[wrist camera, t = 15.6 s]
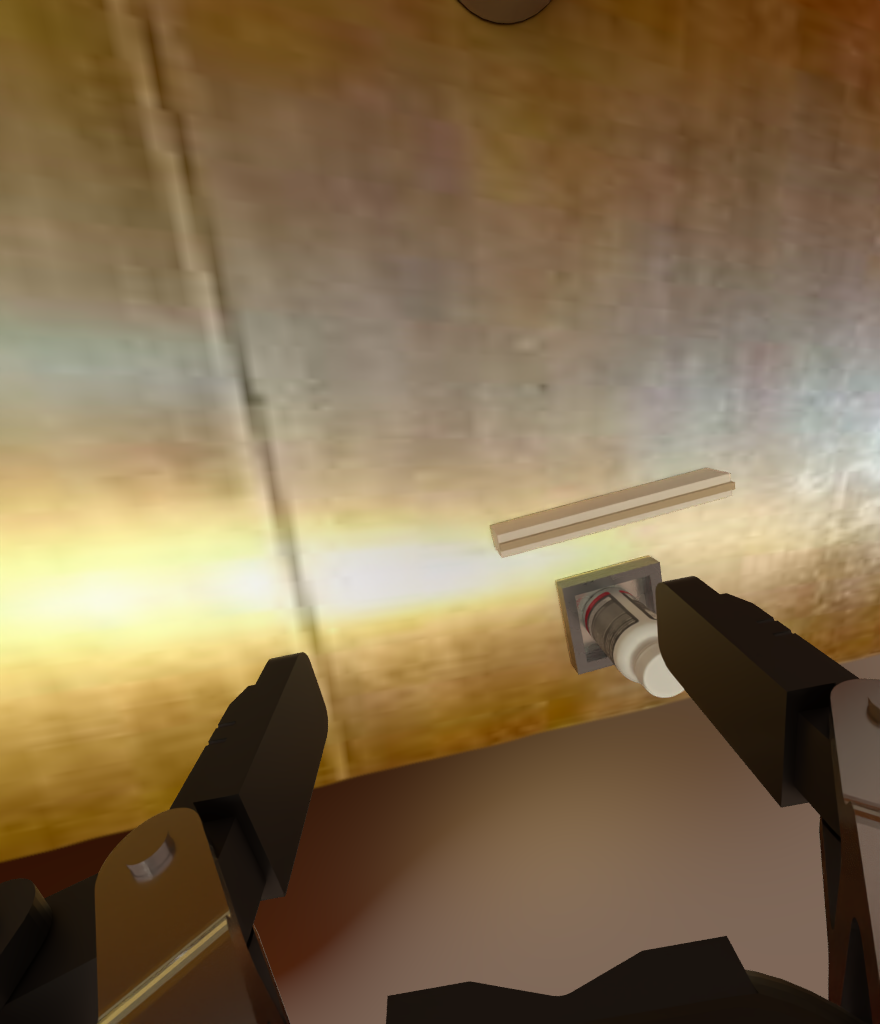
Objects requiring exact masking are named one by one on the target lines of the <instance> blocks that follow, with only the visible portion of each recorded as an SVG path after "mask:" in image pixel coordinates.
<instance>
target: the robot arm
mask: <svg viewBox="0 0 880 1024" xmlns="http://www.w3.org/2000/svg"><path fill="white" fill-rule="evenodd" d="M459 1H460V2H461V3H462V4H464V5H465V6H466V7H467V8H468V9H469V10H470V11H472V12H473V13H475V14H476V15H478V16H480V17H481V18H483V19H487V20H490V21H493V22H496V23H514V22H518V21H523V20H525V19H527V18H529V17H531V16H533V15H535V14H537V13H538V12H539V11H540V10H542V9H543V8H544V7H545V6H546V5H547V4H549V2H550V1H551V0H459ZM655 596H656V613H657V631H658V644H659V649H660V653H661V656H662V658H663V661H664V663H665V665H666V667H667V668H668V670H669V671H670V672H671V674H672V675H673V676H674V677H675V679H676V680H677V681H678V682H679V683H680V685H681V686H682V687H683V688H684V690H685V691H686V692H687V693H688V694H689V696H690V697H691V698H692V699H693V701H694V702H695V703H696V704H697V705H698V707H699V708H700V709H701V710H702V712H703V713H704V714H705V715H706V716H707V718H708V719H709V720H710V721H711V723H712V724H713V725H714V726H715V727H716V729H717V730H718V731H719V732H720V734H721V735H722V736H723V737H724V738H725V740H726V741H727V742H728V743H729V744H730V746H731V747H732V748H733V749H734V751H735V752H736V753H737V754H738V755H739V757H740V758H741V759H742V760H743V761H744V763H745V764H746V765H747V766H748V768H749V769H750V770H751V771H752V772H753V774H754V775H755V776H756V777H757V779H758V780H759V781H760V782H761V784H762V785H763V786H764V787H765V788H766V790H767V791H768V792H769V793H770V795H771V796H772V797H773V798H774V799H775V801H776V802H777V803H778V804H779V805H780V807H786V806H792V805H797V804H803V803H808V802H809V803H810V804H811V806H812V807H813V808H814V809H815V810H816V811H817V812H818V813H819V814H820V822H819V836H820V849H821V862H822V875H823V888H824V901H825V914H826V926H827V940H828V963H829V964H828V966H829V967H828V969H829V970H828V1000H827V999H825V998H823V997H821V996H819V995H817V994H815V993H813V992H812V991H809V990H807V989H804V988H802V987H800V986H797V985H795V984H792V983H790V982H788V981H785V980H783V979H780V978H776V977H773V976H769V975H766V974H763V973H759V972H755V971H749V970H745V969H744V967H743V966H742V964H741V962H740V960H739V958H738V956H737V954H736V953H735V951H734V949H733V947H732V945H731V944H730V941H729V940H728V938H727V936H724V937H718V938H712V939H707V940H701V941H695V942H690V943H684V944H678V945H673V946H667V947H662V948H656V949H650V950H644V951H641V952H639V953H638V954H636V955H635V956H633V957H631V958H629V959H628V960H626V961H625V962H623V963H621V964H619V965H617V966H616V967H614V968H612V969H611V970H609V971H607V972H605V973H604V974H602V975H600V976H599V977H597V978H595V979H594V980H592V981H590V982H588V983H587V984H585V985H583V986H582V987H580V988H578V989H576V990H575V991H573V992H571V993H569V994H567V995H564V996H550V995H544V994H538V993H533V992H527V991H521V990H515V989H509V988H504V987H498V986H492V985H487V984H481V983H476V982H464V983H458V984H453V985H447V986H441V987H436V988H431V989H424V990H419V991H413V992H408V993H402V994H396V995H391V996H388V999H387V1017H386V1024H880V680H878V679H859V678H858V677H856V676H855V675H854V674H852V673H851V672H849V671H848V670H846V669H845V668H844V667H842V666H841V665H839V664H838V663H837V662H835V661H834V660H832V659H831V658H830V657H828V656H827V655H825V654H824V653H822V652H821V651H820V650H818V649H817V648H815V647H814V646H813V645H811V644H810V643H808V642H807V641H805V640H804V639H803V638H801V637H800V636H798V635H797V634H796V633H794V634H792V633H791V630H790V629H788V628H787V627H786V626H784V625H783V624H781V623H780V622H779V621H774V619H773V617H772V616H770V615H769V614H767V613H766V612H764V611H763V610H762V609H760V608H759V607H757V606H756V605H755V604H753V603H751V602H748V601H745V600H743V599H740V598H738V597H735V596H732V595H730V594H727V593H725V594H719V593H717V592H716V591H715V590H713V589H712V588H711V587H709V586H708V585H707V584H705V583H704V582H703V581H701V580H700V579H699V578H697V577H695V576H690V577H685V578H680V579H675V580H670V581H665V582H660V583H658V584H657V586H656V590H655ZM327 732H328V716H327V710H326V706H325V703H324V700H323V697H322V694H321V691H320V688H319V686H318V683H317V680H316V677H315V674H314V671H313V668H312V665H311V662H310V660H309V658H308V656H307V655H306V654H305V653H304V652H302V653H297V654H292V655H287V656H281V657H276V658H271V659H270V660H269V661H268V662H267V664H266V665H265V667H264V669H263V671H262V673H261V675H260V677H259V679H258V681H257V682H256V684H255V685H251V686H248V687H247V688H246V689H245V690H244V691H243V692H242V693H241V694H240V695H239V696H238V697H237V698H236V699H235V700H234V701H233V702H232V703H231V704H230V705H229V707H228V708H227V710H226V712H225V714H224V715H223V717H222V719H221V721H220V722H219V724H218V728H216V729H215V731H214V733H213V734H212V736H211V738H210V740H209V741H208V742H209V745H208V746H206V747H205V748H204V750H203V752H202V754H201V755H200V757H199V759H198V761H197V762H196V764H195V766H194V768H193V769H192V771H191V773H190V774H189V776H188V778H187V780H186V781H185V783H184V785H183V787H182V788H181V790H180V792H179V794H178V795H177V797H176V799H175V801H174V802H173V804H172V806H171V808H170V809H169V810H167V811H165V812H162V813H160V814H158V815H156V816H154V817H152V818H150V819H148V820H147V821H145V822H144V823H142V824H141V825H139V826H138V827H137V828H135V829H134V830H133V831H132V832H131V833H129V834H128V835H127V836H126V837H125V838H124V839H123V840H122V841H121V842H120V843H119V844H118V845H117V847H116V848H115V849H114V850H113V851H112V852H111V854H110V855H109V856H108V858H107V859H106V861H105V863H104V864H103V866H102V868H101V869H100V872H99V873H97V874H95V875H93V876H91V877H89V878H87V879H85V880H83V881H81V882H78V883H76V884H74V885H72V886H70V887H68V888H66V889H64V890H61V891H59V892H57V893H55V894H53V895H51V896H49V897H47V898H43V896H42V895H41V894H40V892H39V890H38V889H37V888H36V886H35V885H34V884H33V882H32V881H30V880H28V879H14V880H10V881H7V882H3V883H1V884H0V1024H290V1021H289V1018H288V1015H287V1013H286V1010H285V1007H284V1004H283V1001H282V999H281V996H280V993H279V990H278V988H277V985H276V982H275V979H274V977H273V974H272V971H271V968H270V966H269V963H268V960H267V957H266V954H265V952H264V949H263V946H262V943H261V941H260V938H259V935H258V932H257V931H256V929H255V926H254V924H253V923H254V920H255V916H256V913H257V910H258V907H259V903H260V901H262V900H267V899H273V898H278V897H284V896H285V895H286V891H287V887H288V884H289V880H290V875H291V872H292V868H293V864H294V861H295V857H296V853H297V849H298V845H299V841H300V837H301V834H302V830H303V826H304V822H305V818H306V814H307V811H308V807H309V803H310V799H311V795H312V791H313V788H314V784H315V780H316V776H317V772H318V768H319V764H320V761H321V757H322V753H323V749H324V745H325V741H326V738H327Z"/></svg>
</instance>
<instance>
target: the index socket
mask: <svg viewBox="0 0 880 1024" xmlns="http://www.w3.org/2000/svg"><path fill="white" fill-rule="evenodd" d="M555 582H556V587H557V592H558V598H559V603H560V608H561V613H562V618H563V623H564V629H565V634H566V639H567V644H568V649H569V654H570V659H571V664H572V665H573V667H574V668H575V670H576V672H577V673H578V675H579V674H583V673H586V672H590V671H593V670H597V669H601V668H604V667H608V666H612V665H614V664H613V663H612V661H611V660H610V659H609V658H608V656H607V655H606V654H605V653H604V651H603V650H602V649H601V648H600V646H599V645H598V644H597V643H596V641H595V640H594V639H593V638H592V636H591V635H590V634H589V633H588V631H587V630H586V628H585V626H584V623H583V611H584V609H585V606H586V604H587V602H588V601H589V600H590V599H591V598H592V597H593V596H594V595H595V594H596V593H598V592H600V591H602V590H605V589H608V588H620V589H623V590H626V591H627V592H629V593H630V594H632V595H633V596H634V597H636V598H637V599H638V600H639V601H640V602H642V603H643V604H644V605H645V606H646V607H648V608H649V609H650V610H651V611H652V612H654V613H655V614H656V615H657V613H656V596H655V590H656V586H657V584H658V583H660V582H662V578H661V570H660V562H658V561H657V560H655V559H654V558H652V557H650V556H649V555H648V556H644V557H641V558H637V559H633V560H630V561H626V562H622V563H618V564H615V565H611V566H607V567H604V568H600V569H596V570H593V571H589V572H585V573H582V574H578V575H574V576H570V577H567V578H563V579H559V580H556V581H555Z"/></svg>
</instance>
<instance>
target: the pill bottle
mask: <svg viewBox="0 0 880 1024" xmlns="http://www.w3.org/2000/svg"><path fill="white" fill-rule="evenodd" d="M583 623H584V626H585V628H586V630H587V631H588V633H589V634H590V635H591V636H592V638H593V639H594V640H595V641H596V643H597V644H598V645H599V646H600V648H601V649H602V650H603V651H604V653H605V654H606V655H607V656H608V658H609V659H610V660H611V661H612V663H613V664H614V665H615V666H616V668H617V669H618V670H619V671H620V672H621V673H622V674H623V675H624V676H625V677H626V678H628V679H629V680H631V681H634V682H637V683H640V684H641V685H643V686H644V688H645V689H646V690H647V691H648V692H649V693H651V694H652V695H654V696H657V697H663V698H666V697H672V696H675V695H677V694H679V693H681V692H682V691H683V690H684V688H683V687H682V686H681V685H680V683H679V682H678V681H677V680H676V679H675V677H674V676H673V675H672V674H671V672H670V671H669V670H668V668H667V667H666V665H665V663H664V661H663V658H662V656H661V653H660V649H659V644H658V631H657V615H656V614H655V613H654V612H652V611H651V610H650V609H649V608H648V607H646V606H645V605H644V604H643V603H642V602H640V601H639V600H638V599H637V598H636V597H634V596H633V595H632V594H630V593H629V592H627V591H626V590H623V589H620V588H608V589H605V590H602V591H600V592H598V593H596V594H595V595H594V596H593V597H592V598H591V599H590V600H589V601H588V602H587V604H586V606H585V609H584V611H583Z"/></svg>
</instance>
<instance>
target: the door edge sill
mask: <svg viewBox="0 0 880 1024" xmlns="http://www.w3.org/2000/svg"><path fill="white" fill-rule="evenodd" d="M734 489H735V482H732V481H731V473H728V472H723V471H718V470H714V469H709V468H704V469H700V470H696V471H692V472H689V473H685V474H681V475H677V476H674V477H670V478H666V479H662V480H659V481H655V482H651V483H647V484H644V485H640V486H636V487H632V488H629V489H625V490H621V491H617V492H614V493H610V494H606V495H602V496H599V497H595V498H591V499H587V500H584V501H580V502H576V503H572V504H569V505H565V506H561V507H557V508H554V509H550V510H546V511H542V512H539V513H535V514H531V515H527V516H524V517H520V518H516V519H512V520H508V521H505V522H501V523H497V524H493V525H490V529H491V534H492V538H493V542H494V546H495V548H496V550H497V551H498V553H499V554H500V556H501V557H502V558H504V557H507V556H511V555H515V554H519V553H522V552H526V551H530V550H533V549H537V548H541V547H545V546H548V545H552V544H556V543H560V542H563V541H567V540H571V539H574V538H578V537H582V536H586V535H589V534H593V533H597V532H600V531H604V530H608V529H612V528H615V527H619V526H623V525H627V524H630V523H634V522H638V521H641V520H645V519H649V518H653V517H656V516H660V515H664V514H667V513H671V512H675V511H679V510H682V509H686V508H690V507H694V506H697V505H701V504H705V503H708V502H712V501H716V500H720V499H723V498H727V497H731V496H732V490H734Z"/></svg>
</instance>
